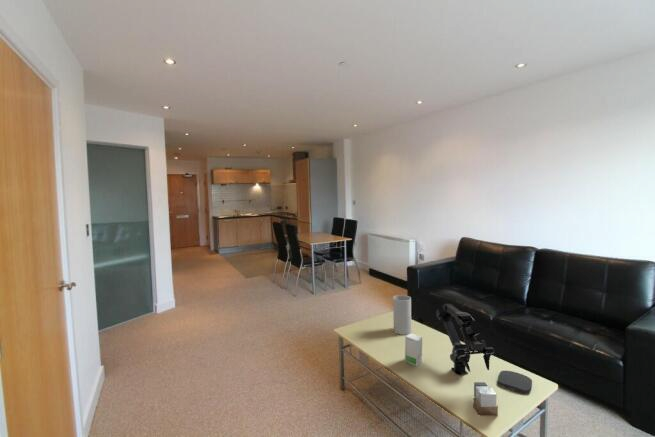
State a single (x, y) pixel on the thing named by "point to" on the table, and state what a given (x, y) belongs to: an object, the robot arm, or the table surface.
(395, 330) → the cylinder vase
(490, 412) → the grey brown block
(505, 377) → the media streaming box
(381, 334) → the table surface
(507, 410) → the table surface
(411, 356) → the skincare box
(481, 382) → the plunger
